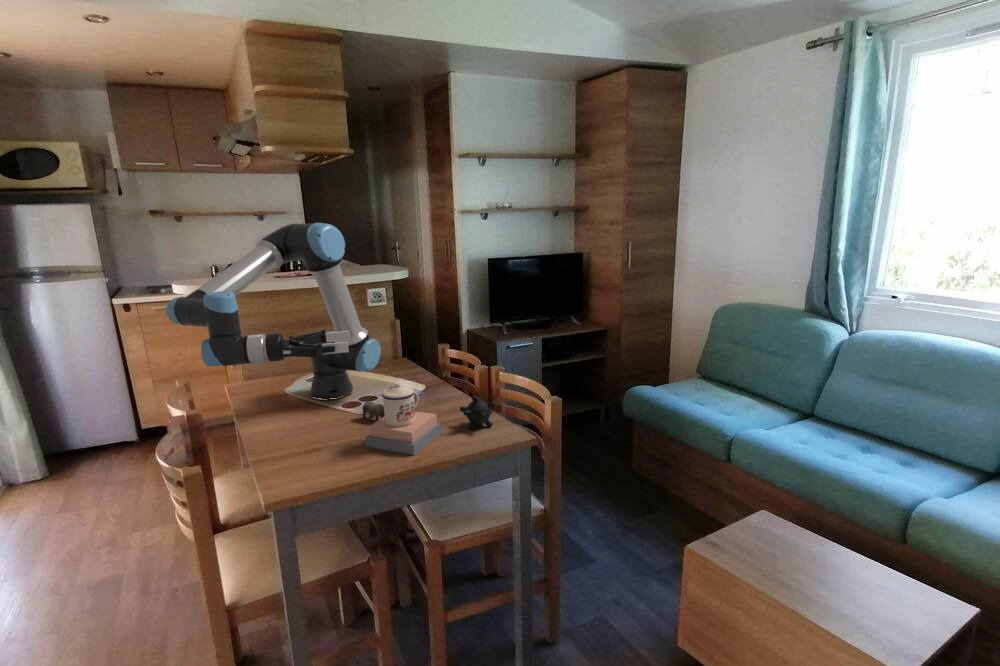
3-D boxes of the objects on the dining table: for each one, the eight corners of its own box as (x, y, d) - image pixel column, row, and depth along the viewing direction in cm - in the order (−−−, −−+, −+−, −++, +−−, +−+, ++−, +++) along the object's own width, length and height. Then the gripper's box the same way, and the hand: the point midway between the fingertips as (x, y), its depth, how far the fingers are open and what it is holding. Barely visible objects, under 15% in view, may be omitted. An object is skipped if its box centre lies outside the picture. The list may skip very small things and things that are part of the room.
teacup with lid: (399, 430, 146) (396, 390, 144) (377, 423, 152) (374, 384, 149) (429, 416, 156) (427, 378, 153) (408, 410, 161) (405, 373, 158)
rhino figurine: (391, 427, 164) (390, 409, 163) (359, 419, 171) (358, 402, 169) (400, 422, 167) (399, 404, 166) (368, 415, 174) (367, 398, 173)
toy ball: (509, 417, 161) (481, 419, 152) (488, 434, 166) (460, 437, 158) (495, 388, 166) (467, 388, 157) (475, 406, 171) (447, 407, 162)
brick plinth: (397, 425, 165) (395, 407, 163) (442, 432, 159) (441, 413, 157) (365, 446, 150) (364, 427, 149) (414, 455, 144) (412, 434, 143)
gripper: (276, 350, 155) (351, 343, 159) (260, 374, 131) (348, 366, 136) (273, 325, 153) (348, 319, 158) (256, 345, 129) (346, 338, 134)
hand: (349, 341), depth 147 cm, fingers open, 13 cm apart
